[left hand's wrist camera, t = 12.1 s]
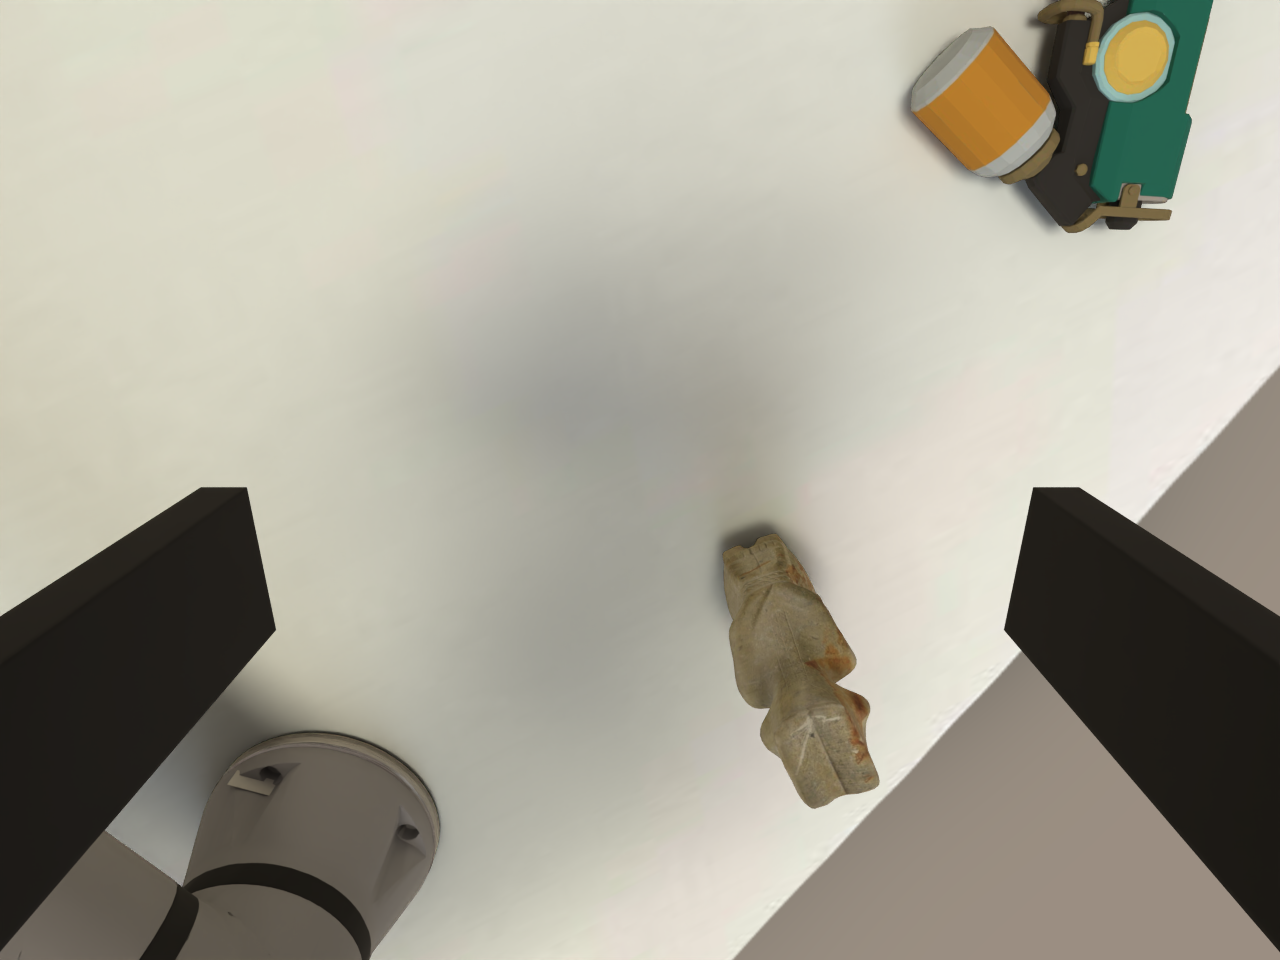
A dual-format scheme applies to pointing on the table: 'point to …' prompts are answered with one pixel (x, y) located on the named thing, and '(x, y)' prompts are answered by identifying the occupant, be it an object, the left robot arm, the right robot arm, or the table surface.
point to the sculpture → (796, 672)
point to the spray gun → (1076, 107)
